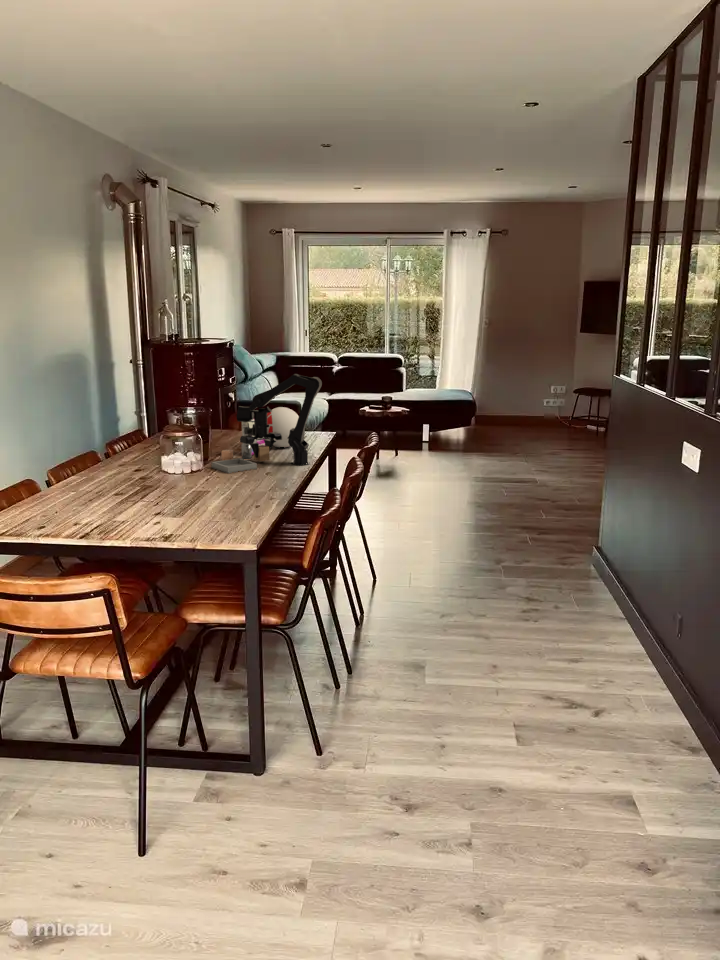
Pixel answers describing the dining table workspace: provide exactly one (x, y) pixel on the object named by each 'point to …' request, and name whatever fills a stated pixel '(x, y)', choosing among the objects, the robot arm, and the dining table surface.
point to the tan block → (227, 454)
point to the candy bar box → (247, 424)
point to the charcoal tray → (234, 465)
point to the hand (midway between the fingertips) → (261, 456)
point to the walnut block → (262, 453)
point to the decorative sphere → (281, 424)
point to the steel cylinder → (246, 451)
